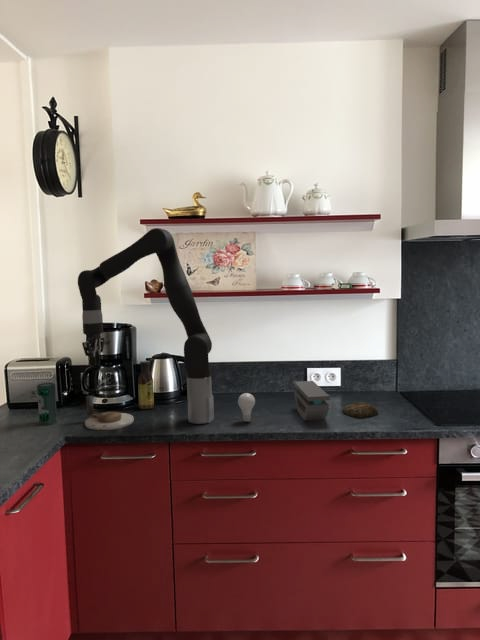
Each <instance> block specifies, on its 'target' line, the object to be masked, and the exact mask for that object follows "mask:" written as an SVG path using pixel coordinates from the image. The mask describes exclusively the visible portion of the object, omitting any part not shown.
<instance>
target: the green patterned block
mask: <svg viewBox="0 0 480 640" xmlns="http://www.w3.org/2000/svg"><path fill="white" fill-rule="evenodd" d="M36 394H37V403H38V405H37V406H38V407H37V409H38V420H39V422H38V423H39V425H40V426H50V425H54V424H56V423H58V413H57V400H56V399H57V397H56V384H55V383H54V382H44V383H39V384H37V385H36Z"/></svg>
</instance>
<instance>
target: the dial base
mask: <svg viewBox="0 0 480 640" xmlns="http://www.w3.org/2000/svg"><path fill="white" fill-rule="evenodd" d="M120 413H121V417H122V418H121V419H120V420H118V421H114V422H99V421H97V418H89V417H88V418H86V419H85V421H84V426H85V428H87V429H89V430H93V431H110V430H111V431H112V430H117V429H121V428H126V427H128V426H130V425H132V424H133V423H134V420H135V419H134V416H133V415H132V414H130V413H124V412H120Z"/></svg>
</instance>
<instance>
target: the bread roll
mask: <svg viewBox="0 0 480 640" xmlns="http://www.w3.org/2000/svg"><path fill="white" fill-rule="evenodd" d="M342 412H343V413H344V414H345V415H347V416H350V417H353V418H356V419H368V418H372V417H374V416H375V417H376V416H378V414H379V413H378V412H379V411H378V410H377V408H376V407H375V406H374V405H372V404H371V403H369V402H364V401H359V402H355V403H351V404H348V405H345V406H344V407H343V408H342Z"/></svg>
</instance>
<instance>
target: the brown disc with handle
mask: <svg viewBox="0 0 480 640" xmlns="http://www.w3.org/2000/svg"><path fill="white" fill-rule="evenodd" d="M93 399H94V398H93V395H86V396H85V400H86V401H85V402H86V405H85V406H86V415H87V416H88V418H97V421H99V422H114V421H118V420H120V419H121V418H122V417H121V413H122V412H119V411H105V412H101V413H94V400H93Z"/></svg>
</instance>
